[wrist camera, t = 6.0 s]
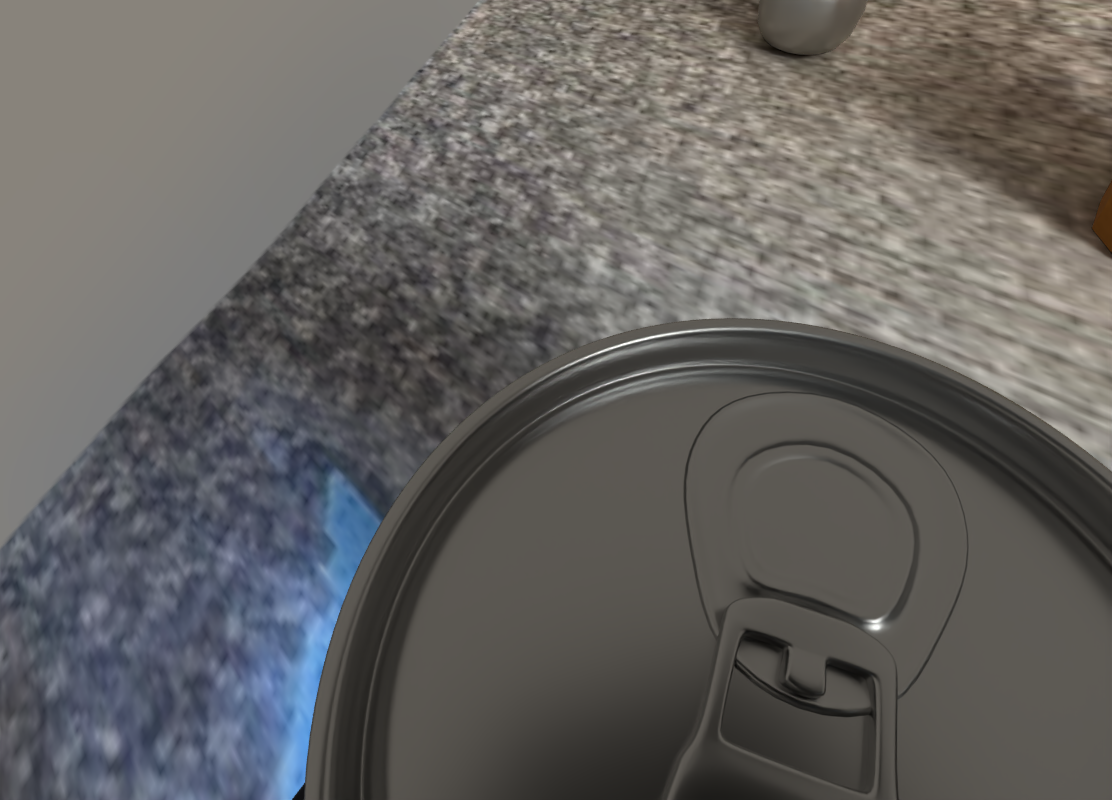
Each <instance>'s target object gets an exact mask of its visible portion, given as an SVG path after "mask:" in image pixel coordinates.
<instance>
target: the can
mask: <svg viewBox="0 0 1112 800" xmlns="http://www.w3.org/2000/svg"><path fill="white" fill-rule="evenodd" d="M304 800H1112V472H1111V471H1110V470H1109V469H1108V468H1107V467H1105V466H1104V465H1103V464H1102V463H1100V462H1099V461H1098V460H1097V459H1095V458H1094V457H1093V456H1092V455H1090V454H1089V453H1088V452H1086V451H1085V450H1084V449H1082V448H1081V447H1080V446H1078V445H1077V444H1076V443H1074V442H1073V441H1072V440H1070V439H1069V438H1068V437H1066V436H1065V435H1063V434H1062V433H1061V432H1059V431H1058V430H1056V429H1055V428H1053V427H1052V426H1050V425H1049V424H1048V423H1046V422H1044V421H1043V420H1041V419H1040V418H1038V417H1037V416H1035V415H1034V414H1032V413H1031V412H1029V411H1027V410H1026V409H1024V408H1023V407H1021V406H1019V405H1018V404H1016V403H1014V402H1013V401H1011V400H1009V399H1007V398H1006V397H1004V396H1002V395H1000V394H999V393H997V392H995V391H993V390H992V389H990V388H988V387H986V386H984V385H982V384H980V383H978V382H976V381H975V380H972V379H970V378H968V377H966V376H964V375H962V374H960V373H958V372H956V371H954V370H952V369H949V368H947V367H945V366H943V365H941V364H938V363H936V362H934V361H931V360H929V359H926V358H924V357H921V356H919V355H916V354H914V353H911V352H908V351H906V350H903V349H900V348H897V347H894V346H891V345H888V344H885V343H882V342H879V341H876V340H872V339H869V338H865V337H862V336H858V335H854V334H851V333H846V332H842V331H838V330H833V329H829V328H823V327H818V326H813V325H807V324H800V323H793V322H785V321H775V320H764V319H738V318H725V319H702V320H690V321H680V322H673V323H666V324H660V325H655V326H649V327H644V328H640V329H636V330H631V331H628V332H624V333H620V334H617V335H613V336H610V337H607V338H604V339H601V340H598V341H595V342H592V343H590V344H587V345H584V346H582V347H579V348H577V349H574V350H572V351H570V352H567V353H565V354H563V355H561V356H559V357H557V358H555V359H553V360H551V361H549V362H547V363H545V364H543V365H541V366H539V367H537V368H536V369H534V370H532V371H530V372H529V373H527V374H525V375H524V376H522V377H520V378H519V379H517V380H516V381H514V382H513V383H511V384H509V385H508V386H507V387H505V388H504V389H502V390H501V391H500V392H498V393H497V394H495V395H494V396H493V397H491V398H490V399H489V400H488V401H486V402H485V403H484V404H482V405H481V406H480V407H479V408H478V409H476V410H475V411H474V412H473V413H472V414H470V415H469V416H468V417H467V418H466V419H465V420H464V421H463V422H462V423H461V424H459V425H458V426H457V427H456V428H455V429H454V430H453V431H452V432H451V433H450V434H449V435H448V436H447V437H446V438H445V439H444V440H443V441H442V442H441V443H440V444H439V446H438V447H437V448H436V449H435V450H434V451H433V452H432V453H431V454H430V456H429V457H428V458H427V459H426V460H425V461H424V463H423V464H422V465H421V466H420V468H419V469H418V470H417V471H416V472H415V474H414V475H413V476H412V478H411V479H410V480H409V482H408V483H407V484H406V486H405V487H404V488H403V490H402V491H401V493H400V494H399V496H398V497H397V499H396V500H395V502H394V503H393V505H392V506H391V508H390V509H389V511H388V513H387V514H386V516H385V518H384V519H383V521H382V522H381V524H380V526H379V528H378V529H377V531H376V533H375V535H374V537H373V538H372V540H371V542H370V544H369V546H368V548H367V550H366V552H365V554H364V556H363V558H362V560H361V562H360V564H359V566H358V569H357V571H356V573H355V575H354V578H353V580H352V582H351V584H350V587H349V589H348V592H347V595H346V597H345V600H344V602H343V605H342V607H341V610H340V613H339V616H338V619H337V622H336V625H335V628H334V631H333V634H332V637H331V641H330V644H329V648H328V651H327V654H326V658H325V662H324V666H323V670H322V674H321V678H320V683H319V688H318V692H317V697H316V702H315V707H314V713H313V719H312V725H311V732H310V739H309V747H308V756H307V764H306V777H305V790H304Z"/></svg>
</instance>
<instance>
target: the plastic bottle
mask: <svg viewBox="0 0 1112 800" xmlns="http://www.w3.org/2000/svg"><path fill="white" fill-rule="evenodd" d="M867 1H868V0H760V2H759V11H758V25H759V28H760V31H761V34H762V36H763V38H764V39H765V41H766V42H767V43H769V44H770V45H771V46H773V47H775V48H777V49H779V50H782V51H785V52H789V53H793V54H800V55H817V54H822V53H826V52H829V51H831V50H833V49H835V48H836V47H838V46H839V45H840V44H841V43H842V42H844V41H845V40H846V39H847V38H848V37H849V36H850V35H851V33H852V32H853V30H854V28H855V27H856V25H857V23H858V21H859V20H860V18H861V16H862V15H863V13H864V11H865V8H866V4H867Z"/></svg>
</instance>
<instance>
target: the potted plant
mask: <svg viewBox="0 0 1112 800" xmlns="http://www.w3.org/2000/svg"><path fill="white" fill-rule="evenodd" d="M1092 229H1093V230H1094V232H1095V233H1096V234H1097V235H1098V237H1099V238H1100V239H1101V240H1102V242H1103V243H1104V244H1105V245H1106V247H1107V248H1108V249H1109V250H1110V252H1111V253H1112V181H1111V183H1110V185H1109V187H1108V188H1107V190H1106V192H1105V194H1104V196H1103V198H1102V199H1101V201H1100V204H1099V208H1098V211H1097V214H1096V217H1095V220H1094V223H1093V227H1092Z"/></svg>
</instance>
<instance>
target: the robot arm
mask: <svg viewBox="0 0 1112 800" xmlns="http://www.w3.org/2000/svg"><path fill="white" fill-rule="evenodd" d="M304 790H305V783H304V785H303V786H302V787H301V788H300V790H299V791H298V792H297V794H296V795H295V796H294V798H293V799H292V800H304Z"/></svg>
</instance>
